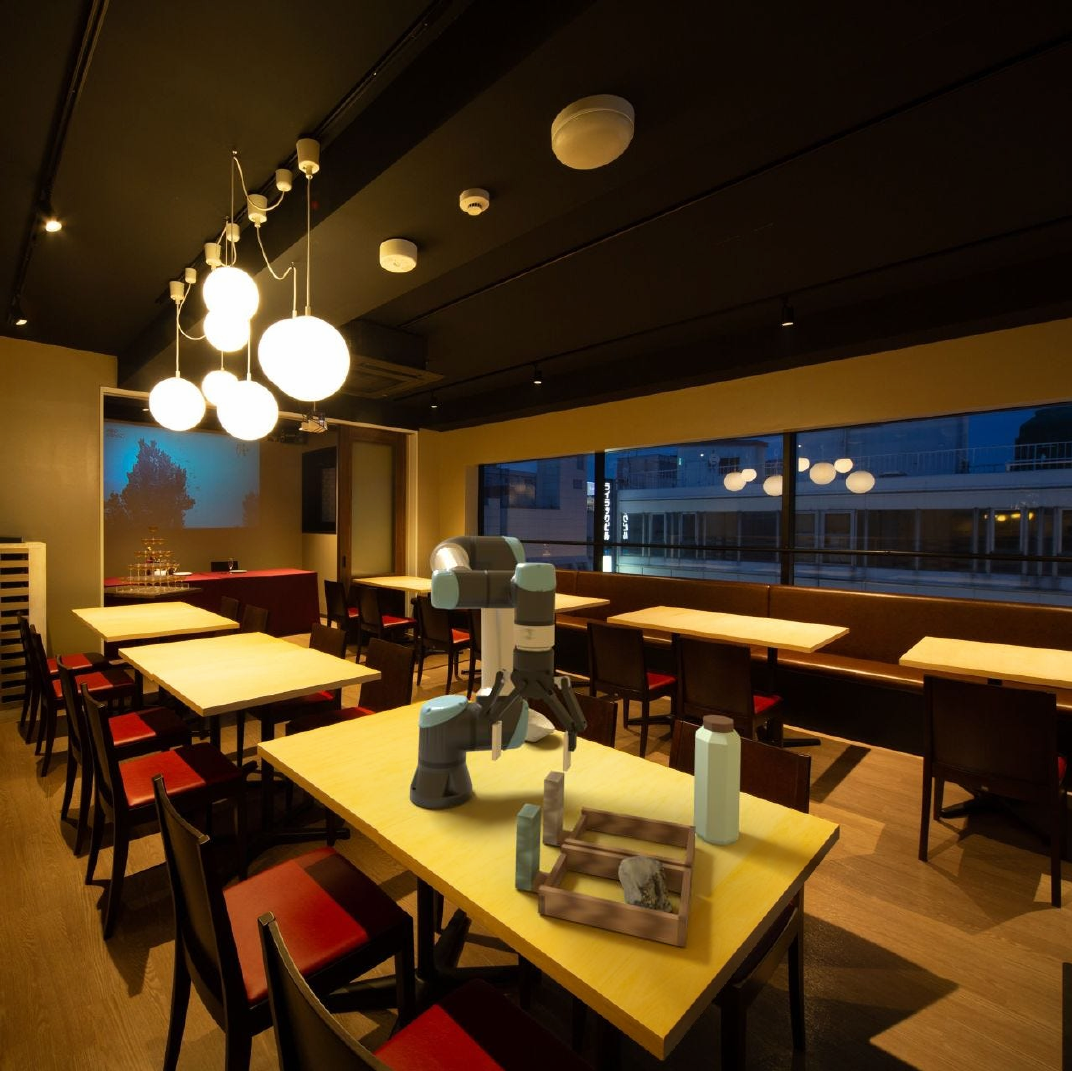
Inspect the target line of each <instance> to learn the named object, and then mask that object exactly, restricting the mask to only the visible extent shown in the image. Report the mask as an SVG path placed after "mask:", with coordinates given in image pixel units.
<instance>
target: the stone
mask: <svg viewBox="0 0 1072 1071" xmlns="http://www.w3.org/2000/svg"><path fill="white" fill-rule="evenodd" d="M618 874H619V880H618V881H620V883H621V888H622V891H623V896H624V901H625V903H626V904H630V905H635V906H639V907H644V908H648V909H653V910H657V911H662V912H666V913H671V914H674V911H673V907H672V904H671V901H670V899H669V896H670V895H669V891H668V890H667V887H666V882H665V875H664V869H663V866H662V864H661V863H660V862H659V861H658V860H654V859H652V858H648V857H643V856H634V857H631V858H628V859H625V860H622V862H621V865H620V866H619V871H618Z"/></svg>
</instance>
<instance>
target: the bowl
mask: <svg viewBox="0 0 1072 1071" xmlns="http://www.w3.org/2000/svg"><path fill="white" fill-rule="evenodd" d="M528 711H529V722H528V730H527V735H526V738H525V741H528V742H537V741H539V740H540V739H543V738H544V737H546V736H548V735H550V734H553V733H554V732H555V731H556V728H555V726H554V724H553V723H552V722H551V721H550V720H549V719H548V718H547V717H546V716H545V715H543V714H541V713H540V712H537V711H536V710H534V709H531V708H530V707H529V708H528Z"/></svg>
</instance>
